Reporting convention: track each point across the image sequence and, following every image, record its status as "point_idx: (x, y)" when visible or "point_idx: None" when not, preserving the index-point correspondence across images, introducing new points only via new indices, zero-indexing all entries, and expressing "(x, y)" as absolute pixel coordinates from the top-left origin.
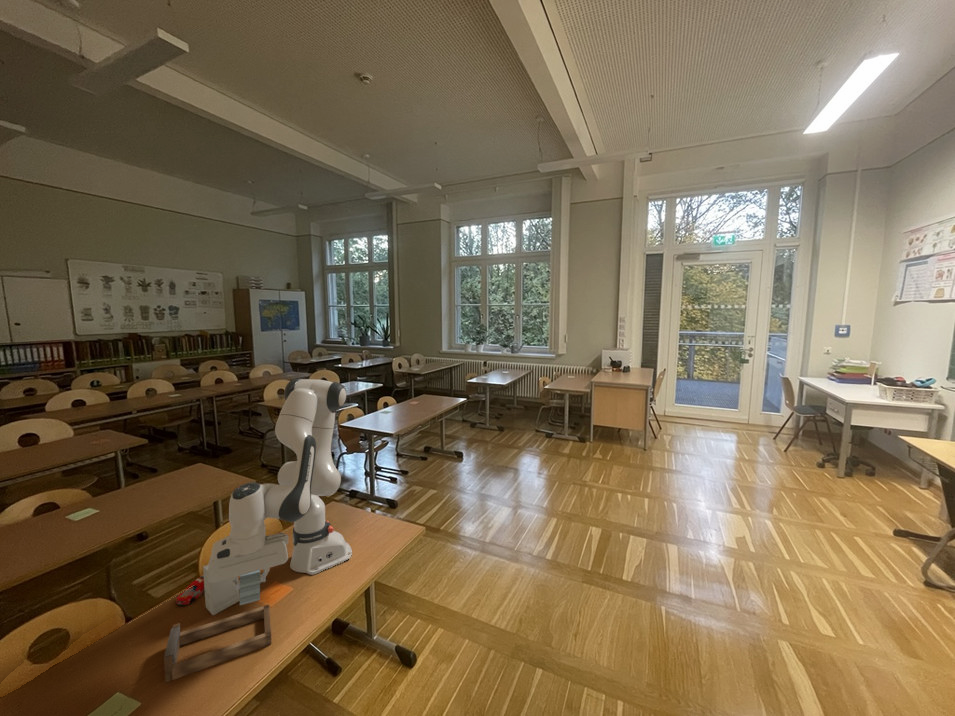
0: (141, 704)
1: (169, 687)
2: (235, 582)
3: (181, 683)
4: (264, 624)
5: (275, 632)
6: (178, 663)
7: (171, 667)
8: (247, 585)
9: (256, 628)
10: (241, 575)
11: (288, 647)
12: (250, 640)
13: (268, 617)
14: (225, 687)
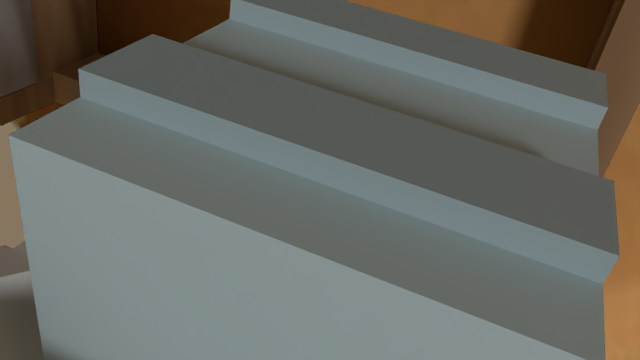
0: (26, 120)
1: None
2: (15, 352)
3: None
4: (589, 67)
5: (632, 163)
6: (72, 82)
7: (43, 104)
8: None
9: (539, 7)
10: (58, 333)
11: (624, 341)
12: None
13: (628, 92)
14: None
